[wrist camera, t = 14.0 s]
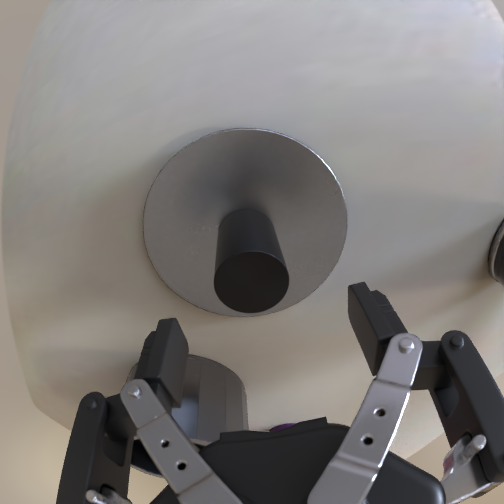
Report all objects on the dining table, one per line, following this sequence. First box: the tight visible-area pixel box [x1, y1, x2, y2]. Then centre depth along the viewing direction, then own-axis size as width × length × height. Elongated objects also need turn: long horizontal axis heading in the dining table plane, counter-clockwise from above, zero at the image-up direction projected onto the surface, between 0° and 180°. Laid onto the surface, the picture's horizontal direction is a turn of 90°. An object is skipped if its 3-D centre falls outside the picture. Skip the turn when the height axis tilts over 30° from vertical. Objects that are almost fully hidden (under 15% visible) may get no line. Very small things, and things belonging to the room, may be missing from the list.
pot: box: [126, 354, 249, 479], centre depth 27 cm, size 14×14×10 cm
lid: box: [143, 128, 347, 317], centre depth 19 cm, size 15×15×7 cm
